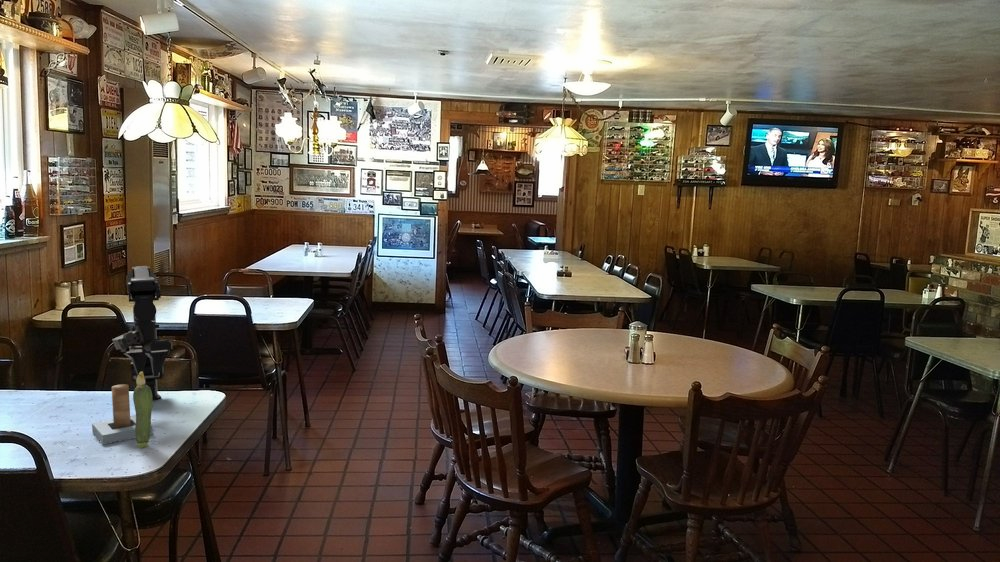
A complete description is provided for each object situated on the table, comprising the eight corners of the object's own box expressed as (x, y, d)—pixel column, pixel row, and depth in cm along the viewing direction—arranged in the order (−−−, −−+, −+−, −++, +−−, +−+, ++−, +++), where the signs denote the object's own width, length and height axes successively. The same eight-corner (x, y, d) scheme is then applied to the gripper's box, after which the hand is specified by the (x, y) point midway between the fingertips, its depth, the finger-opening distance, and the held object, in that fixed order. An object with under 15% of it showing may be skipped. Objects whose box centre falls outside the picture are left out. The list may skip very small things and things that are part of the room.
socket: (92, 432, 191) (91, 423, 191) (140, 423, 199) (140, 414, 198) (102, 444, 182) (102, 435, 182) (153, 434, 190) (152, 425, 189)
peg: (111, 434, 190) (108, 387, 188) (125, 430, 193) (122, 383, 191) (120, 437, 188) (117, 389, 186) (134, 432, 191) (131, 385, 189)
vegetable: (136, 444, 182) (133, 368, 180) (155, 442, 184) (151, 367, 181) (134, 450, 178) (130, 373, 176) (153, 448, 180) (150, 371, 177)
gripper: (100, 324, 203) (103, 379, 202) (131, 322, 191) (134, 380, 191) (139, 322, 212) (142, 374, 211) (171, 320, 200) (174, 375, 200)
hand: (147, 376), depth 203 cm, fingers open, 9 cm apart
